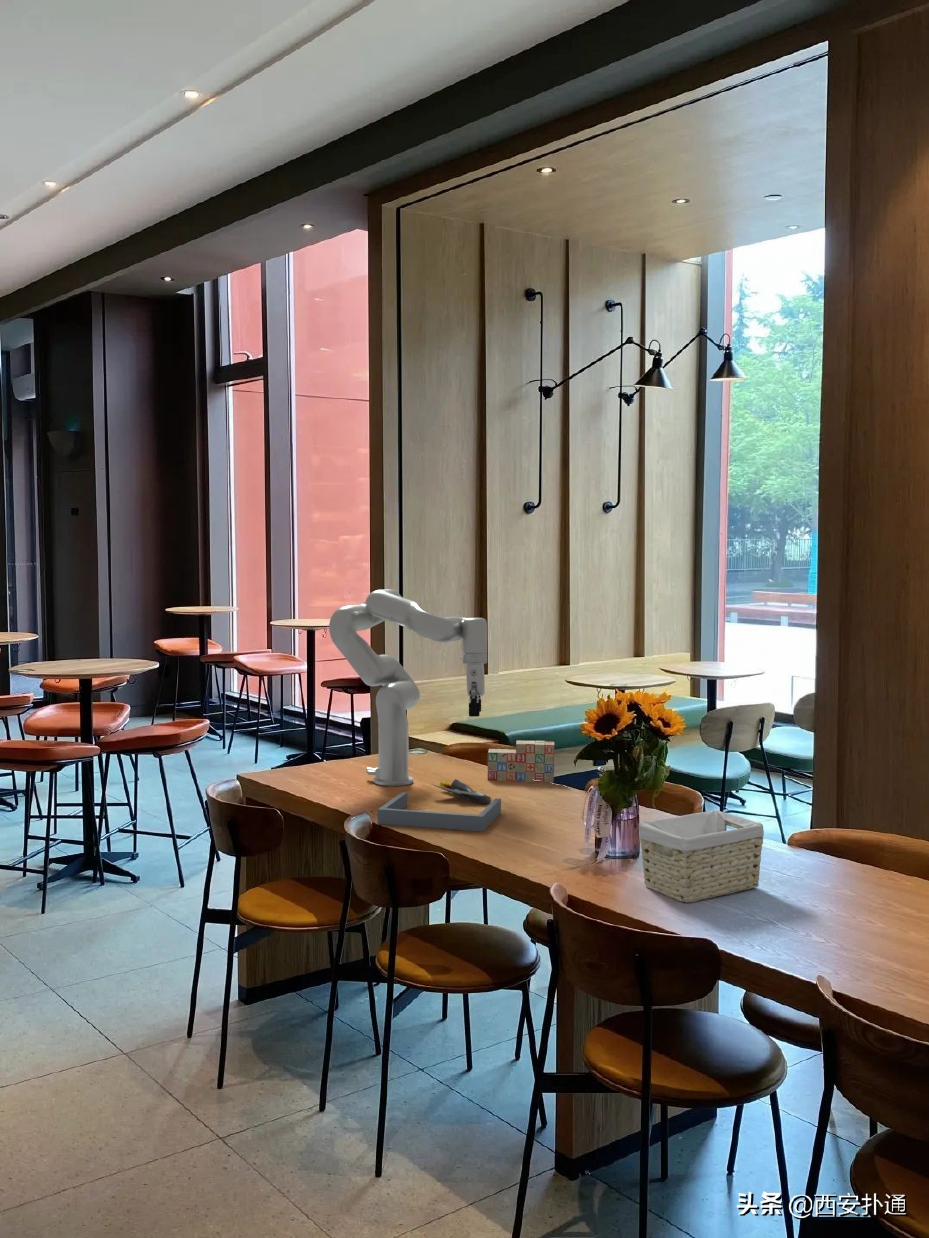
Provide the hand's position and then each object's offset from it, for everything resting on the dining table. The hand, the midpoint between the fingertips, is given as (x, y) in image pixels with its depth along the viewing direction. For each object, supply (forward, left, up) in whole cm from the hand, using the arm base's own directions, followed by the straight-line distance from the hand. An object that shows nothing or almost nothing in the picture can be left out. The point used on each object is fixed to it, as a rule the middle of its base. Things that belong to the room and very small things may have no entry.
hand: (475, 713), depth 336 cm
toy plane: (0, -11, -24) cm, 26 cm away
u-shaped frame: (-1, -36, -24) cm, 43 cm away
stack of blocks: (+10, +20, -24) cm, 33 cm away
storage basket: (+72, -79, -24) cm, 110 cm away
